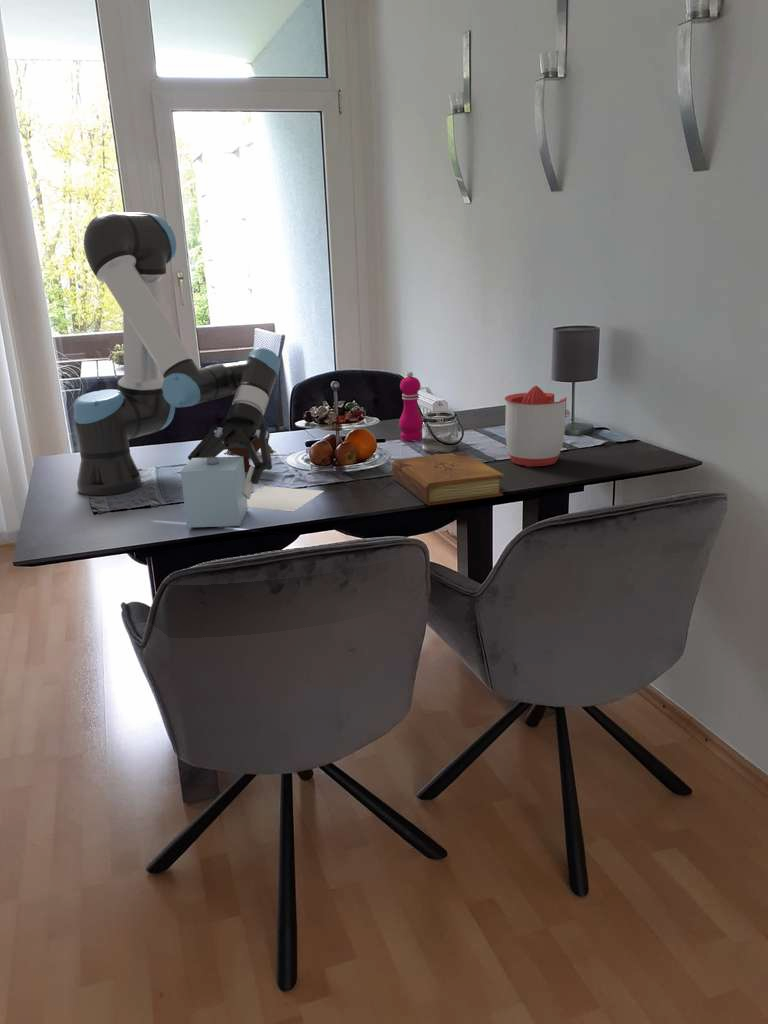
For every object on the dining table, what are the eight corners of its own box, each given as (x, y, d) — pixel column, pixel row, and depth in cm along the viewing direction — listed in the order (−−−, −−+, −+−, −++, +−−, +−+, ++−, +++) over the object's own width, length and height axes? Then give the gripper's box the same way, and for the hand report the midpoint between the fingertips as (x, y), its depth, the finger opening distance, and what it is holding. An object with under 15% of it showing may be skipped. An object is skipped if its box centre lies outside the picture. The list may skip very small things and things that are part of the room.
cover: (187, 527, 168) (180, 465, 164) (197, 510, 178) (191, 452, 174) (240, 525, 168) (234, 464, 164) (247, 509, 178) (242, 450, 174)
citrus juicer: (582, 464, 208) (585, 386, 201) (522, 472, 202) (524, 393, 196) (550, 451, 222) (552, 378, 215) (493, 458, 216) (493, 383, 210)
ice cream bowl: (259, 477, 206) (255, 419, 201) (218, 476, 208) (213, 418, 204) (273, 466, 216) (269, 410, 211) (234, 465, 218) (229, 410, 213)
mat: (230, 507, 182) (230, 505, 182) (264, 488, 196) (264, 486, 196) (294, 513, 177) (293, 511, 177) (324, 492, 191) (324, 490, 191)
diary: (392, 482, 200) (392, 459, 198) (462, 473, 205) (462, 451, 204) (426, 507, 179) (425, 482, 177) (502, 497, 185) (503, 473, 183)
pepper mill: (400, 436, 245) (399, 369, 239) (424, 436, 244) (423, 369, 238) (397, 441, 238) (396, 373, 232) (422, 441, 237) (421, 373, 231)
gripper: (302, 422, 181) (276, 506, 173) (207, 417, 190) (178, 497, 181) (290, 402, 175) (262, 489, 166) (192, 399, 183) (161, 481, 175)
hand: (218, 493), depth 174 cm, fingers closed on cover, 12 cm apart
